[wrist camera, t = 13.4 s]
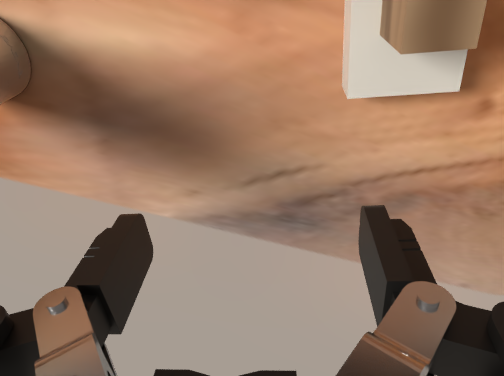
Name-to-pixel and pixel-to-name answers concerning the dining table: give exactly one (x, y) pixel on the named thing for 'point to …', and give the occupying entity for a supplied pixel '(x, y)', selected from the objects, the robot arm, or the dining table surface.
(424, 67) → the white block
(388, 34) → the walnut block
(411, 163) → the dining table surface
